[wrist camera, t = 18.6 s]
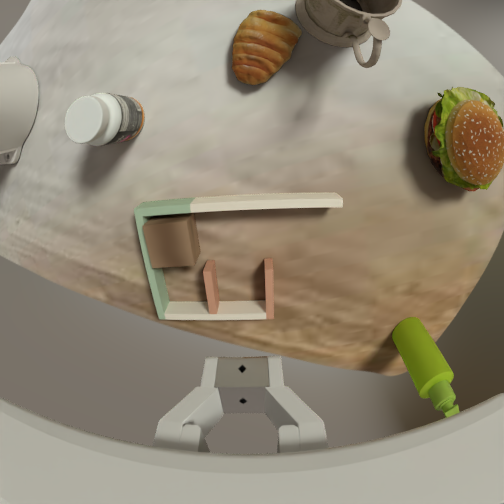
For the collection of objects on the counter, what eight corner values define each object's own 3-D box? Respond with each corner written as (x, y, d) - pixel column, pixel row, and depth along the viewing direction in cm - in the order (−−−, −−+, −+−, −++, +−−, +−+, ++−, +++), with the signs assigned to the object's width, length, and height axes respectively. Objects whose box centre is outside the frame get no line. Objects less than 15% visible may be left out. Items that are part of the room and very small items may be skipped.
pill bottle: (107, 143, 30) (61, 154, 21) (106, 101, 28) (59, 98, 19) (147, 138, 30) (107, 145, 21) (146, 93, 28) (106, 84, 19)
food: (490, 111, 26) (526, 115, 19) (472, 195, 32) (506, 211, 24) (425, 69, 25) (460, 61, 18) (405, 164, 31) (439, 177, 24)
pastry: (273, 95, 28) (275, 90, 25) (218, 76, 27) (213, 69, 24) (302, 30, 25) (308, 20, 21) (248, 12, 24) (247, 0, 20)
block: (161, 254, 37) (152, 268, 33) (153, 215, 35) (142, 225, 31) (200, 251, 37) (194, 265, 33) (194, 210, 34) (186, 221, 31)
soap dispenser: (415, 307, 40) (472, 398, 22) (423, 330, 42) (472, 415, 24) (385, 326, 41) (432, 424, 23) (397, 348, 44) (437, 437, 26)
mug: (293, -20, 21) (307, -72, 10) (369, -9, 21) (408, -48, 10) (299, 77, 27) (321, 51, 16) (378, 86, 27) (432, 73, 16)
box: (164, 307, 40) (159, 319, 38) (142, 202, 34) (133, 209, 31) (328, 302, 39) (332, 315, 37) (336, 192, 33) (342, 198, 30)
